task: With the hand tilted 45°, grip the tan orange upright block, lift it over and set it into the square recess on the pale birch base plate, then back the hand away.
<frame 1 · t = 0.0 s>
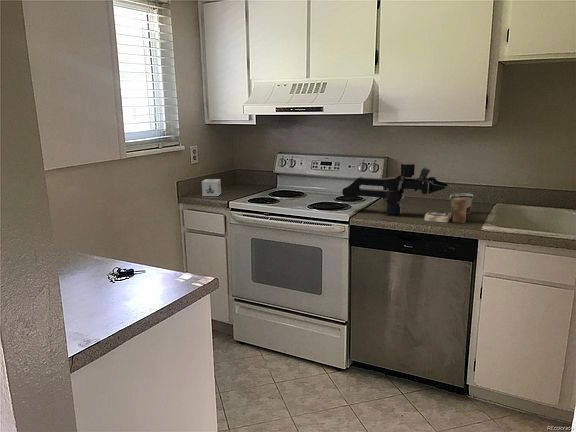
hand: (446, 186, 231), 17 cm above the countertop, tool horizontal, fingers open, 9 cm apart
food container: (458, 212, 249), on the countertop
icon cube: (212, 196, 305), on the countertop
tan orange upright block: (459, 220, 231), on the countertop
base plate: (437, 219, 235), on the countertop
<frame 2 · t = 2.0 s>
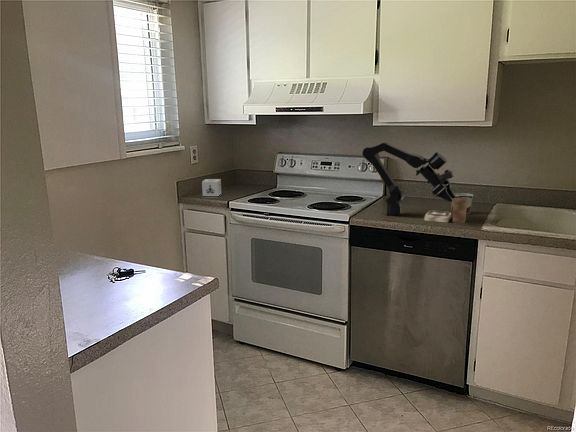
hand: (453, 199, 230), 10 cm above the countertop, tool tilted 45°, fingers open, 9 cm apart
nothing on the countertop moved.
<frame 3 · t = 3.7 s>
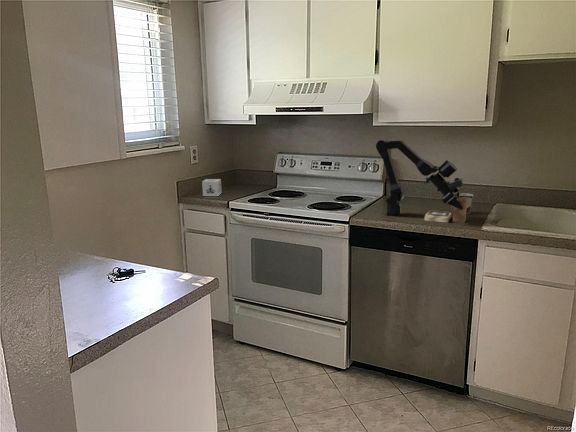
hand: (463, 207, 229), 7 cm above the countertop, tool tilted 45°, fingers closed on tan orange upright block, 5 cm apart
tan orange upright block: (459, 220, 231), on the countertop, touching gripper
everything else where it was.
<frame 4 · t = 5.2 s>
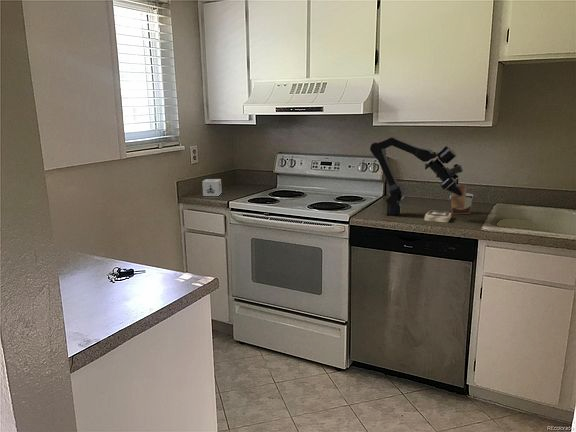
hand: (462, 194, 228), 13 cm above the countertop, tool tilted 45°, fingers closed on tan orange upright block, 5 cm apart
tan orange upright block: (458, 207, 230), point 7 cm above the countertop, touching gripper
everything else where it was.
when the fingers open (11 cm above the countertop, at t = 6.8 s): tan orange upright block drops 2 cm, resting on base plate.
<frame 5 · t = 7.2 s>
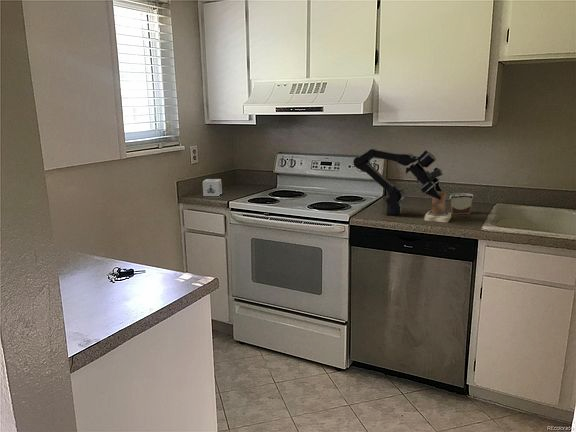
hand: (442, 197, 232), 11 cm above the countertop, tool tilted 45°, fingers open, 9 cm apart
tan orange upright block: (438, 214, 235), point 2 cm above the countertop, touching base plate
everything else where it was.
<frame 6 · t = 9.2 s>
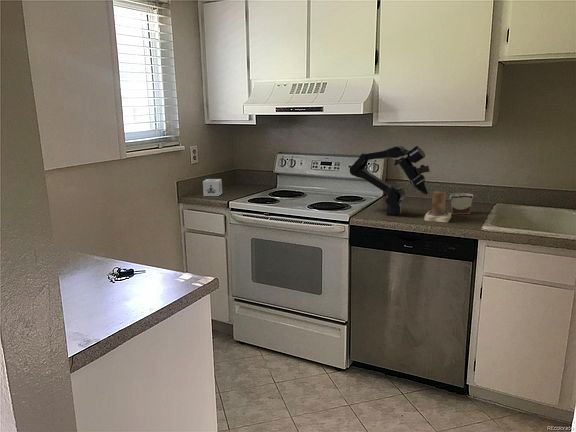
hand: (425, 193, 236), 12 cm above the countertop, tool tilted 35°, fingers open, 9 cm apart
nothing on the countertop moved.
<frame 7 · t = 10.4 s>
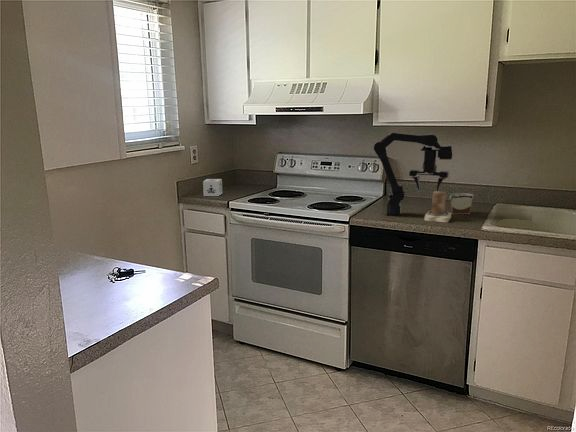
hand: (428, 190, 240), 13 cm above the countertop, tool pointing down, fingers open, 9 cm apart
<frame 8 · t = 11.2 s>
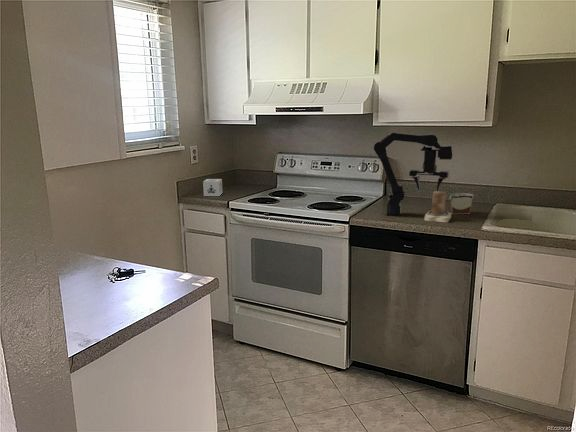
hand: (428, 190, 240), 13 cm above the countertop, tool pointing down, fingers open, 9 cm apart
at the end: tan orange upright block 0.0 cm off-centre on the base plate, point 2.5 cm above the base plate's base; tan orange upright block tilted 0°; the gripper is holding nothing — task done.
